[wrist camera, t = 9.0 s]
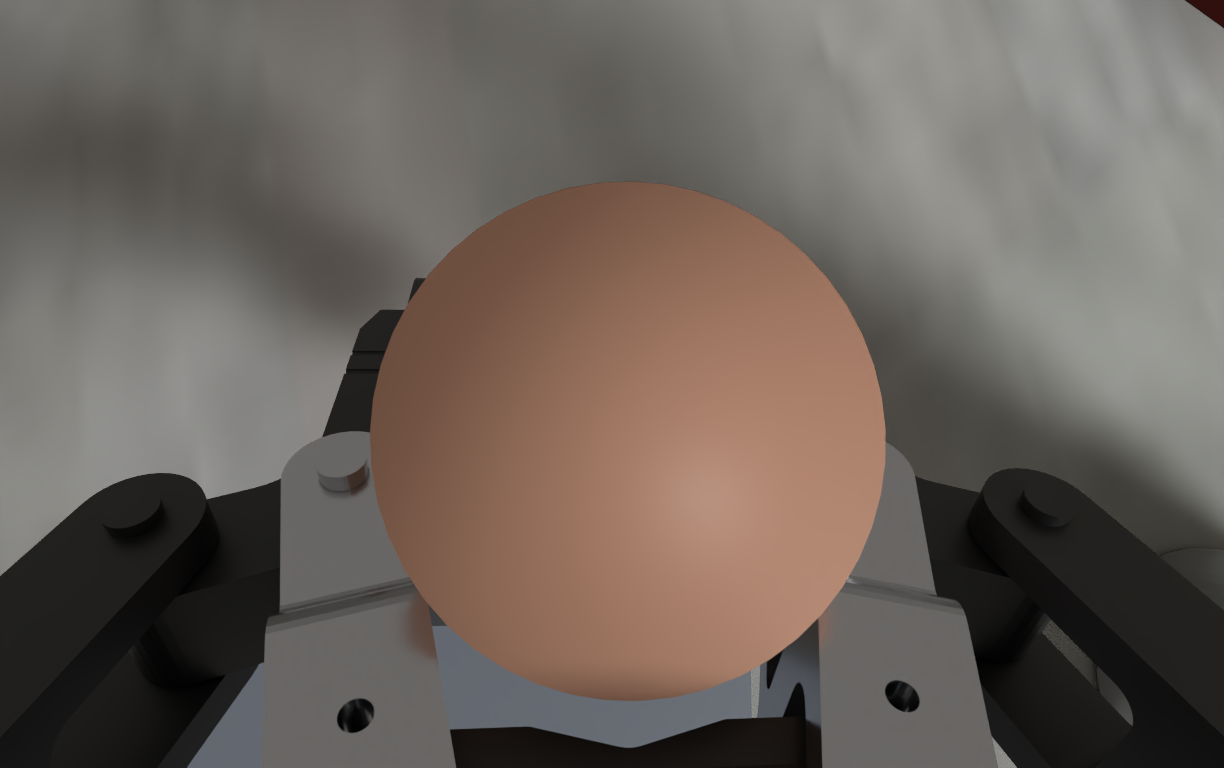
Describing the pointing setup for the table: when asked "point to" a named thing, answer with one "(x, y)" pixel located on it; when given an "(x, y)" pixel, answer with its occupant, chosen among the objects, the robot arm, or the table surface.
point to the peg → (627, 441)
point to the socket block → (501, 707)
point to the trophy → (1211, 9)
